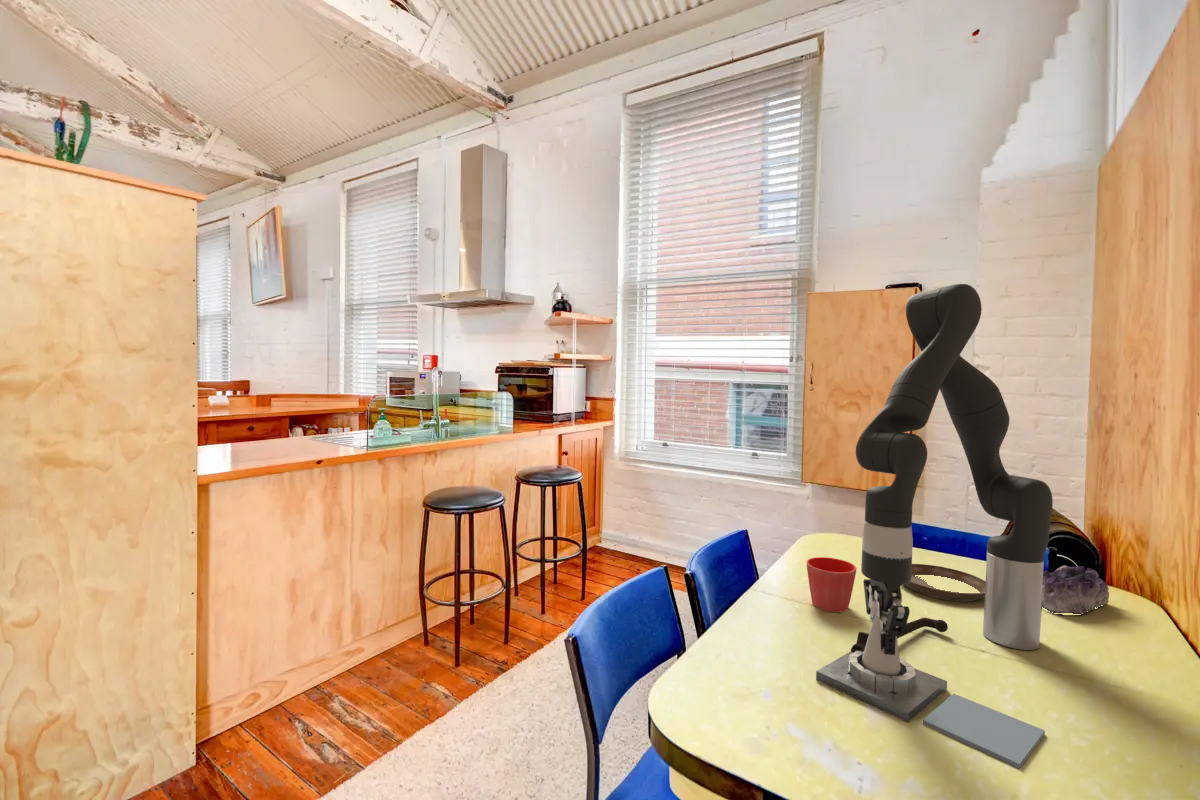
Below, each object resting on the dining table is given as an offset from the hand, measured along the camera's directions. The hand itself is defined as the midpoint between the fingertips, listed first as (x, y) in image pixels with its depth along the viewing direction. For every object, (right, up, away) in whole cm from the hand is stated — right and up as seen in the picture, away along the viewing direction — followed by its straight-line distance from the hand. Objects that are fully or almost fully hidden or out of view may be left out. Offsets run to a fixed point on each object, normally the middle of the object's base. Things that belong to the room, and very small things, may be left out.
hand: (882, 649), depth 94 cm
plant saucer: (+38, -6, +46) cm, 60 cm away
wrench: (+10, -6, +13) cm, 17 cm away
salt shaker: (0, -5, 0) cm, 5 cm away
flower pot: (+5, -5, +34) cm, 35 cm away
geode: (+63, -7, +37) cm, 74 cm away
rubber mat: (+9, -7, -12) cm, 16 cm away
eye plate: (0, -6, 0) cm, 6 cm away
